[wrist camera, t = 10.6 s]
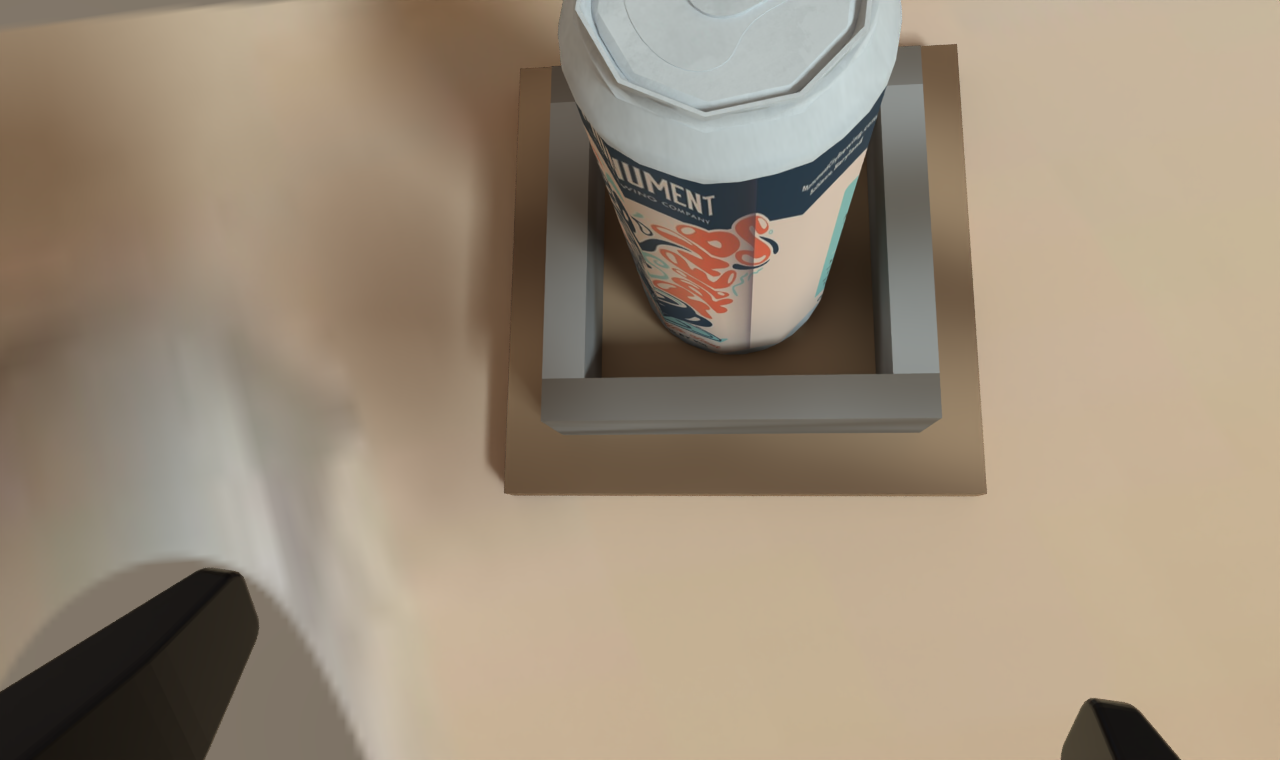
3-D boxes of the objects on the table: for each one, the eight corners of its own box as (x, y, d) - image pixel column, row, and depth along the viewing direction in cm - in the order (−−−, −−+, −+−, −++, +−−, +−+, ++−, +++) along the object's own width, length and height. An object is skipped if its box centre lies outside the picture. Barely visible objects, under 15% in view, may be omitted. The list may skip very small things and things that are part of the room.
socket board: (976, 495, 22) (1018, 486, 19) (513, 495, 23) (475, 485, 20) (948, 64, 24) (981, -15, 21) (528, 86, 26) (496, 16, 22)
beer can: (612, 238, 23) (483, -74, 12) (767, 154, 23) (794, -245, 12) (697, 392, 22) (648, 216, 11) (860, 303, 22) (991, 30, 11)
